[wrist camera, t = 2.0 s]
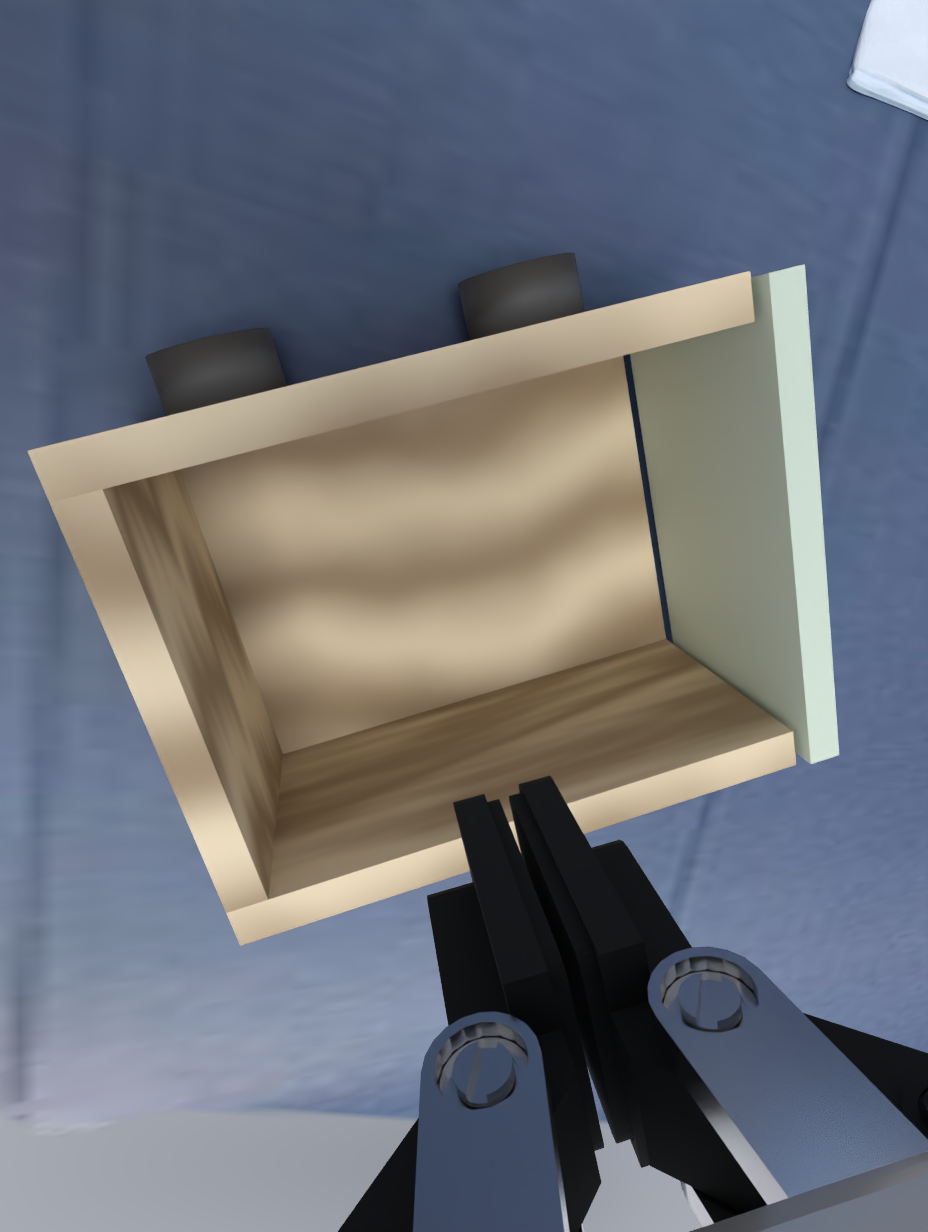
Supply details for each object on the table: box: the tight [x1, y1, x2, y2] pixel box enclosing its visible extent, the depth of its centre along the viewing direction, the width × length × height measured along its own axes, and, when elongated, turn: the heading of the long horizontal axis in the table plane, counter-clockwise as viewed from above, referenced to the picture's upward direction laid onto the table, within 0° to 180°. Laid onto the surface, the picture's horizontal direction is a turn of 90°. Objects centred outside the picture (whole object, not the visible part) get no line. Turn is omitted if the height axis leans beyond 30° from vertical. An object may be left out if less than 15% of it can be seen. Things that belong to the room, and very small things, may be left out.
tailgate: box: [630, 264, 839, 764], centre depth 31 cm, size 18×2×11 cm, turn 14°
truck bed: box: [28, 253, 796, 946], centre depth 30 cm, size 23×22×12 cm
